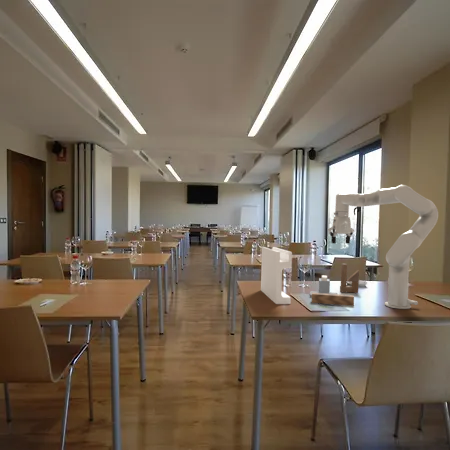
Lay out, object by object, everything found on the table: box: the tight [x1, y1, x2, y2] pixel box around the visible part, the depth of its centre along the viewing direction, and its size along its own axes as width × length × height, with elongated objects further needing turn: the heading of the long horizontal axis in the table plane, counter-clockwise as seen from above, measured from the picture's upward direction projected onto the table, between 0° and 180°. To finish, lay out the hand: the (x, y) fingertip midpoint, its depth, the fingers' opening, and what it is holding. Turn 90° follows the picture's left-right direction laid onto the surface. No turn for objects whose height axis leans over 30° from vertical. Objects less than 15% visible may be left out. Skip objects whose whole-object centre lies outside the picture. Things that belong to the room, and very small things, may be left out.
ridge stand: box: [309, 274, 338, 299], centre depth 205 cm, size 16×12×12 cm
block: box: [260, 246, 293, 305], centre depth 201 cm, size 35×8×28 cm, turn 8°
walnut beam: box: [311, 293, 355, 307], centre depth 188 cm, size 22×4×5 cm, turn 77°
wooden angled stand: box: [339, 263, 360, 294], centre depth 219 cm, size 4×11×18 cm, turn 82°
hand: (340, 243), depth 203 cm, fingers open, 9 cm apart
